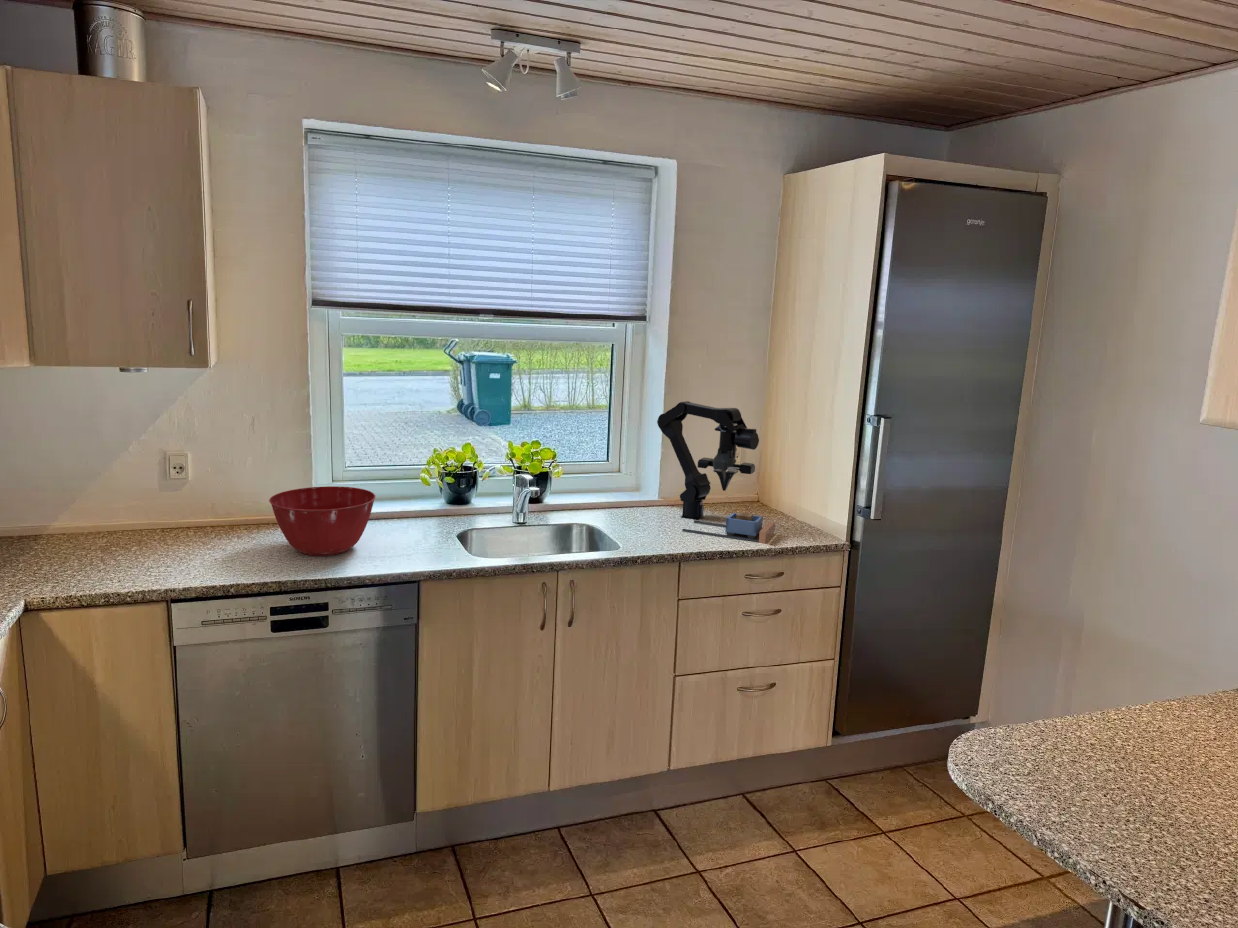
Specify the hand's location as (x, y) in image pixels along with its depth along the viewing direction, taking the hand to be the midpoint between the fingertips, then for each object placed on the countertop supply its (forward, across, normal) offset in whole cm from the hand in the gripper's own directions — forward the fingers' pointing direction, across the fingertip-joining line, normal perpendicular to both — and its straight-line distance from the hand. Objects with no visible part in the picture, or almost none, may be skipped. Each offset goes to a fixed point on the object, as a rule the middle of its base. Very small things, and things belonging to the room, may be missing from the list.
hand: (724, 490), depth 296 cm
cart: (+12, +10, -10) cm, 18 cm away
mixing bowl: (+12, -89, -94) cm, 130 cm away
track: (+12, +5, -10) cm, 16 cm away
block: (+9, +10, -10) cm, 17 cm away
